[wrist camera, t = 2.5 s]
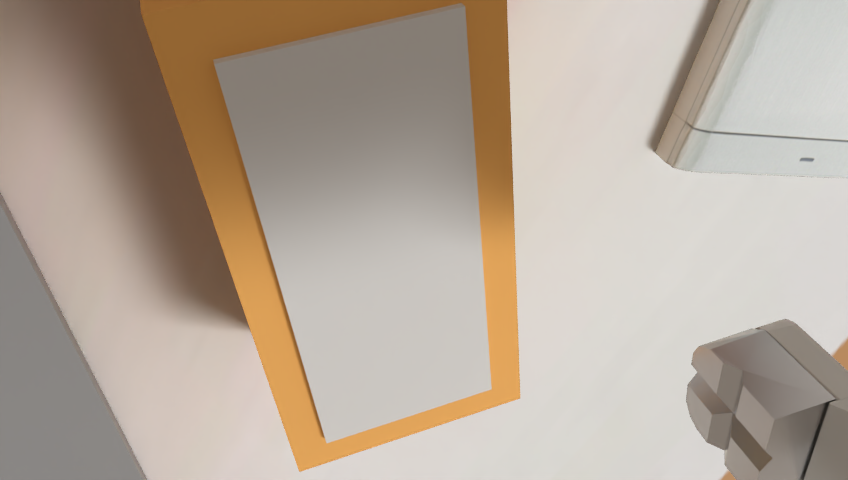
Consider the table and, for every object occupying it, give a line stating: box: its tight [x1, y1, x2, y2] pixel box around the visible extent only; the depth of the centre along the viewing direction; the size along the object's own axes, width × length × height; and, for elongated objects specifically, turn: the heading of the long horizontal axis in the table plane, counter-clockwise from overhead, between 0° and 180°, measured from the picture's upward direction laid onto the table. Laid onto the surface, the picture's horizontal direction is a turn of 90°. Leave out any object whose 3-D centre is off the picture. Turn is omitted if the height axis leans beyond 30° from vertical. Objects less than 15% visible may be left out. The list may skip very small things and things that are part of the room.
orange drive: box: [140, 0, 520, 472], centre depth 15 cm, size 10×5×5 cm, turn 6°
